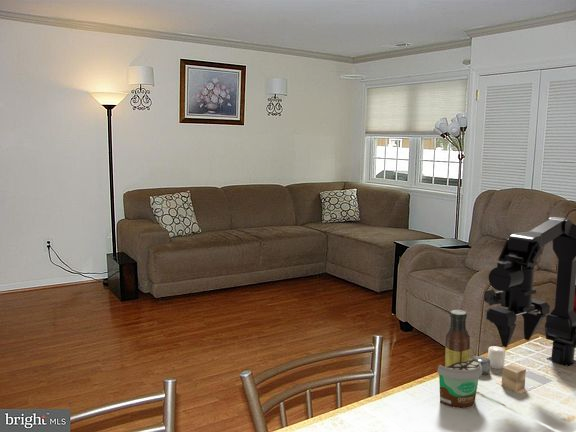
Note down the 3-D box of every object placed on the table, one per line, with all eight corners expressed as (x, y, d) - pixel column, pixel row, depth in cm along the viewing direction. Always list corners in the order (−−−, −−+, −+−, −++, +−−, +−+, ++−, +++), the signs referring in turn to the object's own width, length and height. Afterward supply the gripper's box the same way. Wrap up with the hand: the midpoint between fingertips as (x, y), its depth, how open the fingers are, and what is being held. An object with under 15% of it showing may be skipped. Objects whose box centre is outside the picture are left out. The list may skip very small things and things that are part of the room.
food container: (454, 415, 123) (456, 375, 122) (435, 403, 129) (437, 365, 127) (491, 403, 129) (494, 365, 128) (472, 393, 134) (474, 355, 133)
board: (528, 372, 147) (528, 370, 146) (552, 382, 141) (553, 379, 141) (496, 385, 139) (496, 382, 139) (520, 396, 133) (520, 393, 133)
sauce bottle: (466, 379, 142) (470, 308, 139) (471, 390, 136) (476, 316, 133) (441, 378, 143) (445, 307, 140) (445, 388, 136) (449, 315, 134)
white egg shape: (493, 363, 153) (495, 345, 152) (507, 368, 149) (508, 350, 148) (484, 366, 150) (485, 348, 150) (497, 372, 147) (498, 353, 146)
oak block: (510, 381, 140) (512, 363, 139) (524, 387, 136) (526, 369, 136) (501, 385, 137) (502, 367, 137) (515, 391, 134) (516, 372, 133)
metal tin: (477, 368, 149) (478, 354, 149) (493, 374, 145) (494, 361, 145) (466, 372, 147) (467, 358, 146) (481, 379, 143) (482, 365, 142)
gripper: (514, 272, 145) (510, 327, 147) (469, 281, 135) (466, 340, 137) (553, 282, 135) (548, 340, 138) (508, 292, 125) (504, 354, 128)
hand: (516, 343), depth 135 cm, fingers open, 9 cm apart
